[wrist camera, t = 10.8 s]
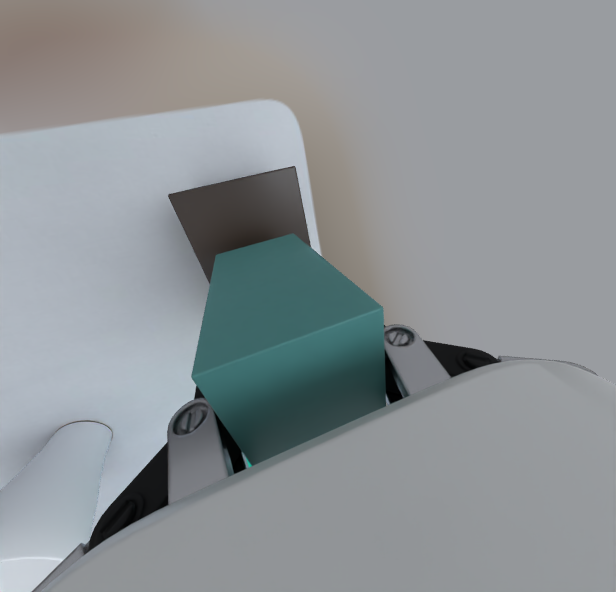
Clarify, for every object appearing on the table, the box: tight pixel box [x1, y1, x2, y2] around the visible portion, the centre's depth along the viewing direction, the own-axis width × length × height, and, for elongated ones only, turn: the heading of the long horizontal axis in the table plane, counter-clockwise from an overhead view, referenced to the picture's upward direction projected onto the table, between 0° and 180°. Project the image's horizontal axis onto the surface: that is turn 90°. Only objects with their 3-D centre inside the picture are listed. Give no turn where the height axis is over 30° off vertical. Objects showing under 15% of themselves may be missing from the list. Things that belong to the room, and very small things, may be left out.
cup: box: [0, 422, 112, 592], centre depth 25 cm, size 10×10×14 cm
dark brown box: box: [168, 166, 311, 283], centre depth 21 cm, size 13×8×10 cm, turn 11°
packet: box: [191, 233, 386, 466], centre depth 10 cm, size 7×4×9 cm, turn 11°
